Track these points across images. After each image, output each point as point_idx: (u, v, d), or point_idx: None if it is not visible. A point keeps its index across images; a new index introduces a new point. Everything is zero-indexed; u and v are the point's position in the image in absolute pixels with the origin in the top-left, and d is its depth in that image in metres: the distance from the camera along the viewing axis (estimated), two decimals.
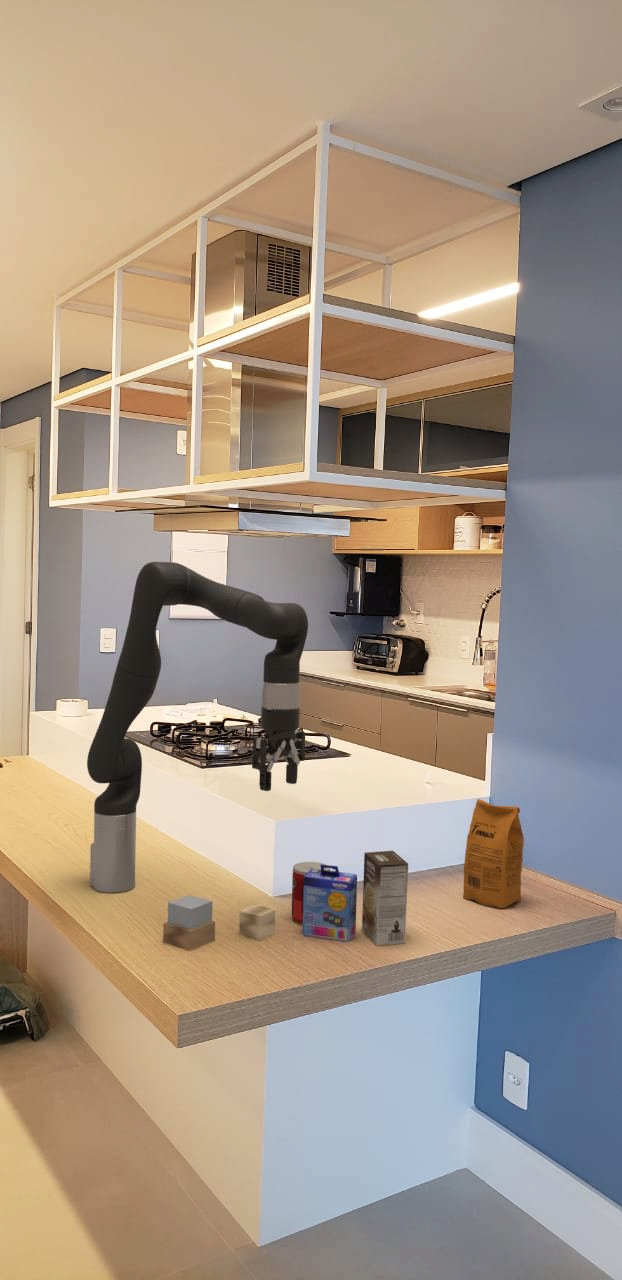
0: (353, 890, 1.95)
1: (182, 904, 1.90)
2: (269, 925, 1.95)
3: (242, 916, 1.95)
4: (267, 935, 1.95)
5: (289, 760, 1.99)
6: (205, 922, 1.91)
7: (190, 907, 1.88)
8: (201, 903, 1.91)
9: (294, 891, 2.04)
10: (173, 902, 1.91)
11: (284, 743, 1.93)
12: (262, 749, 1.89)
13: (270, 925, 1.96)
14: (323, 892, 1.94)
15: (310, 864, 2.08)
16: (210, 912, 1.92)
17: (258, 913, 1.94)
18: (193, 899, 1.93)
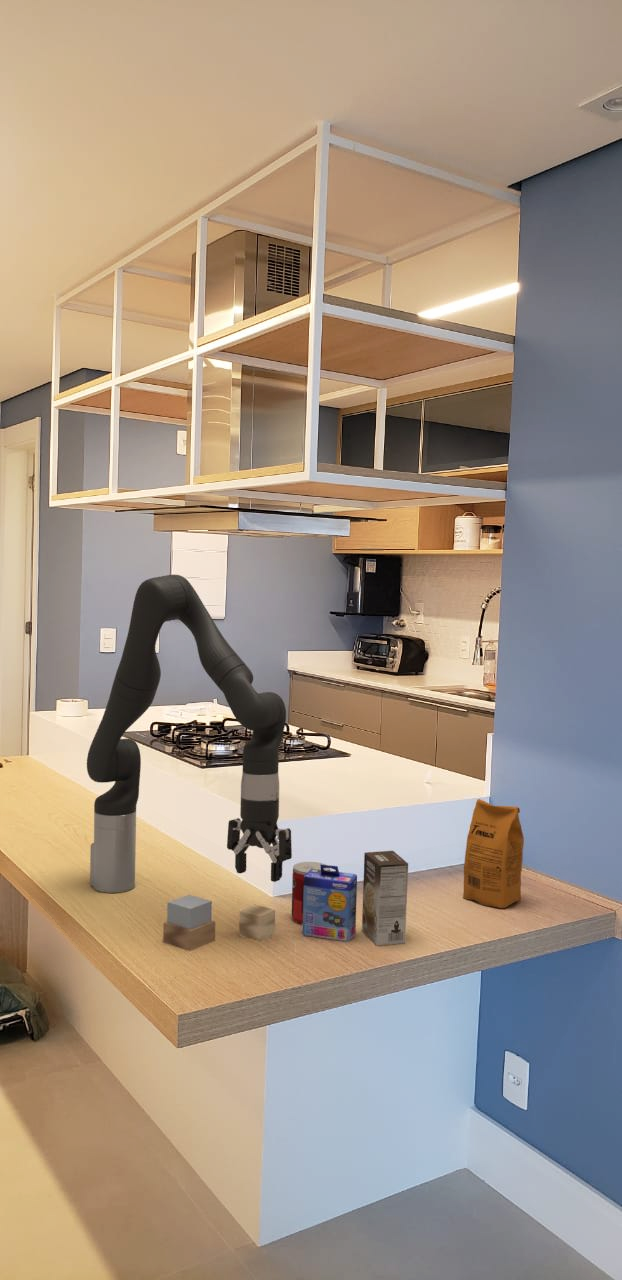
0: (353, 890, 1.95)
1: (182, 904, 1.90)
2: (269, 925, 1.95)
3: (242, 916, 1.95)
4: (267, 935, 1.95)
5: (240, 850, 1.97)
6: (204, 922, 1.91)
7: (188, 907, 1.88)
8: (200, 903, 1.90)
9: (294, 891, 2.04)
10: (172, 902, 1.91)
11: None
12: (290, 839, 1.92)
13: (270, 925, 1.96)
14: (323, 892, 1.94)
15: (310, 864, 2.08)
16: (209, 912, 1.92)
17: (258, 913, 1.94)
18: (193, 899, 1.93)
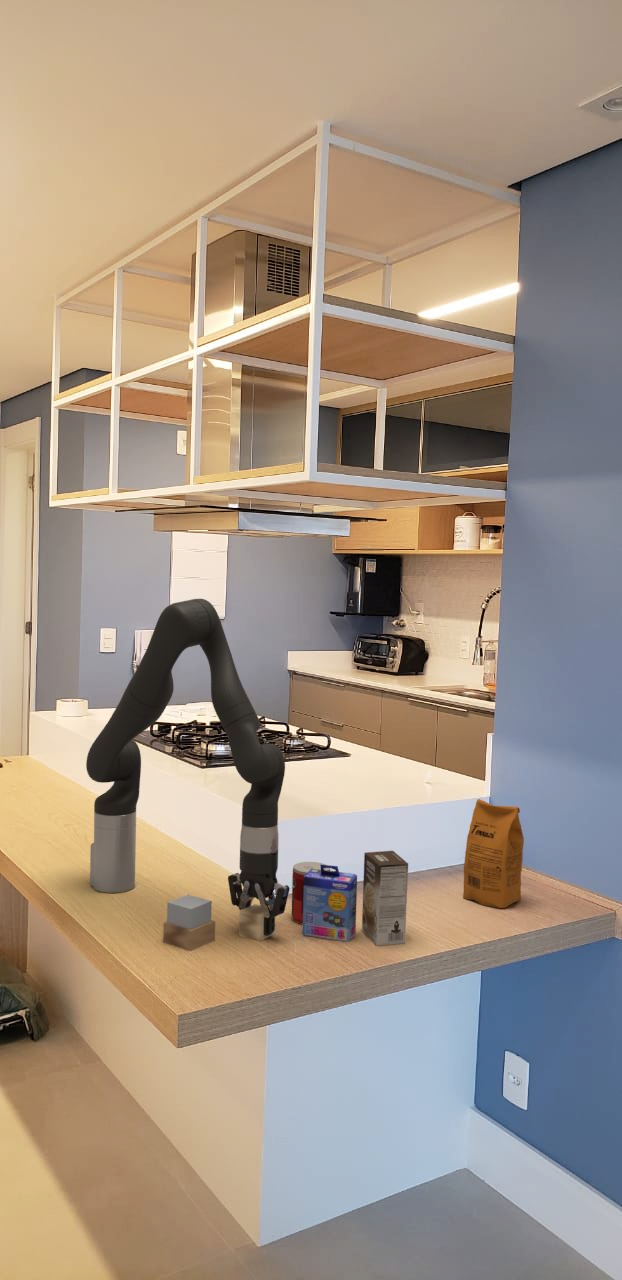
0: (353, 890, 1.95)
1: (182, 904, 1.90)
2: None
3: (241, 916, 1.95)
4: None
5: None
6: (204, 922, 1.91)
7: (189, 907, 1.88)
8: (200, 903, 1.90)
9: (294, 891, 2.04)
10: (172, 902, 1.91)
11: None
12: (287, 896, 1.93)
13: None
14: (323, 892, 1.94)
15: (310, 864, 2.08)
16: (209, 912, 1.92)
17: (258, 912, 1.94)
18: (192, 899, 1.93)
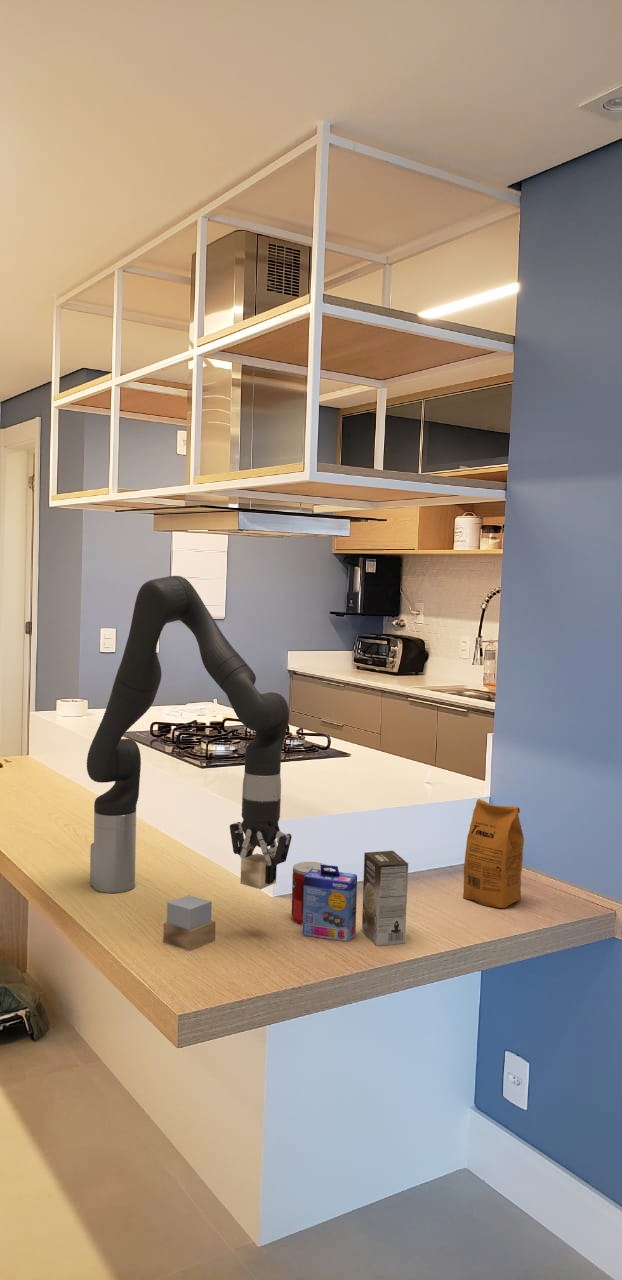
0: (353, 890, 1.95)
1: (181, 904, 1.90)
2: None
3: (243, 864, 1.95)
4: None
5: (246, 854, 1.97)
6: (204, 922, 1.91)
7: (188, 907, 1.88)
8: (200, 904, 1.90)
9: (294, 891, 2.04)
10: (172, 902, 1.91)
11: None
12: (289, 844, 1.93)
13: None
14: (323, 892, 1.94)
15: (310, 864, 2.08)
16: (209, 912, 1.92)
17: (260, 861, 1.94)
18: (192, 899, 1.93)
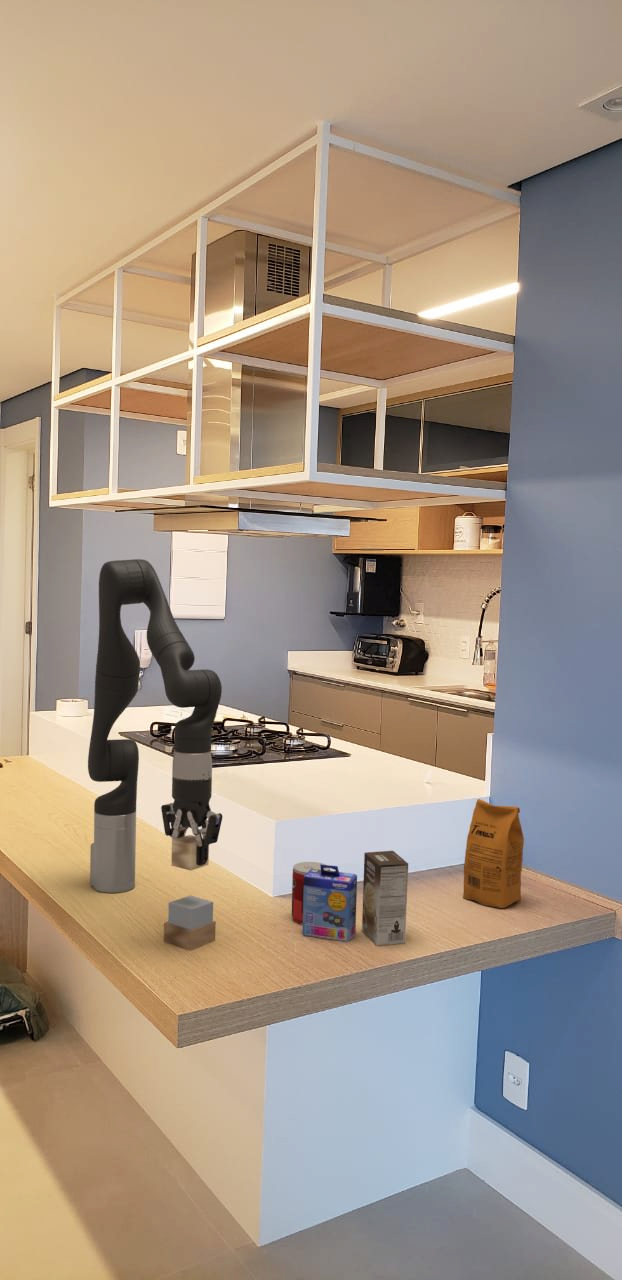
0: (353, 890, 1.95)
1: (183, 904, 1.90)
2: None
3: (174, 845, 1.90)
4: None
5: (178, 835, 1.92)
6: (206, 923, 1.91)
7: (190, 908, 1.88)
8: (201, 904, 1.90)
9: (294, 891, 2.04)
10: (174, 902, 1.91)
11: None
12: (220, 824, 1.88)
13: None
14: (323, 892, 1.94)
15: (310, 864, 2.08)
16: (211, 913, 1.92)
17: (190, 842, 1.89)
18: (194, 899, 1.93)
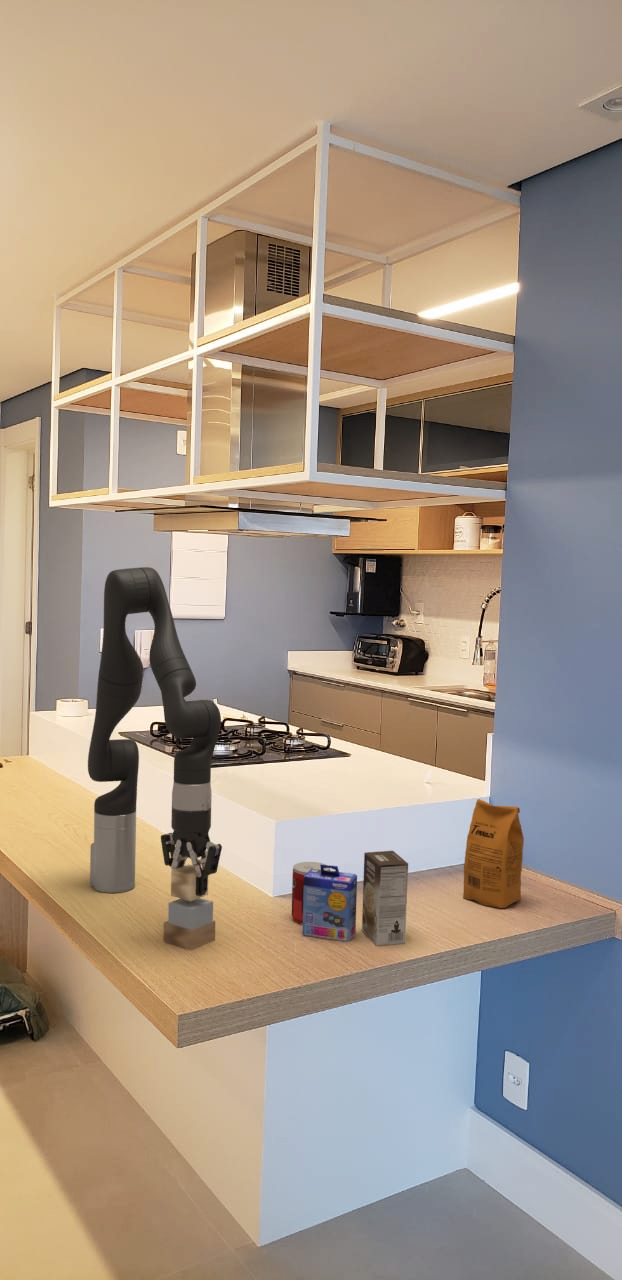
0: (353, 890, 1.95)
1: (183, 905, 1.89)
2: None
3: (173, 876, 1.90)
4: None
5: (177, 865, 1.92)
6: (206, 922, 1.91)
7: (190, 908, 1.88)
8: (202, 904, 1.90)
9: (294, 891, 2.04)
10: (174, 902, 1.90)
11: None
12: (219, 855, 1.88)
13: None
14: (323, 892, 1.94)
15: (310, 864, 2.08)
16: (211, 912, 1.92)
17: (190, 872, 1.89)
18: None
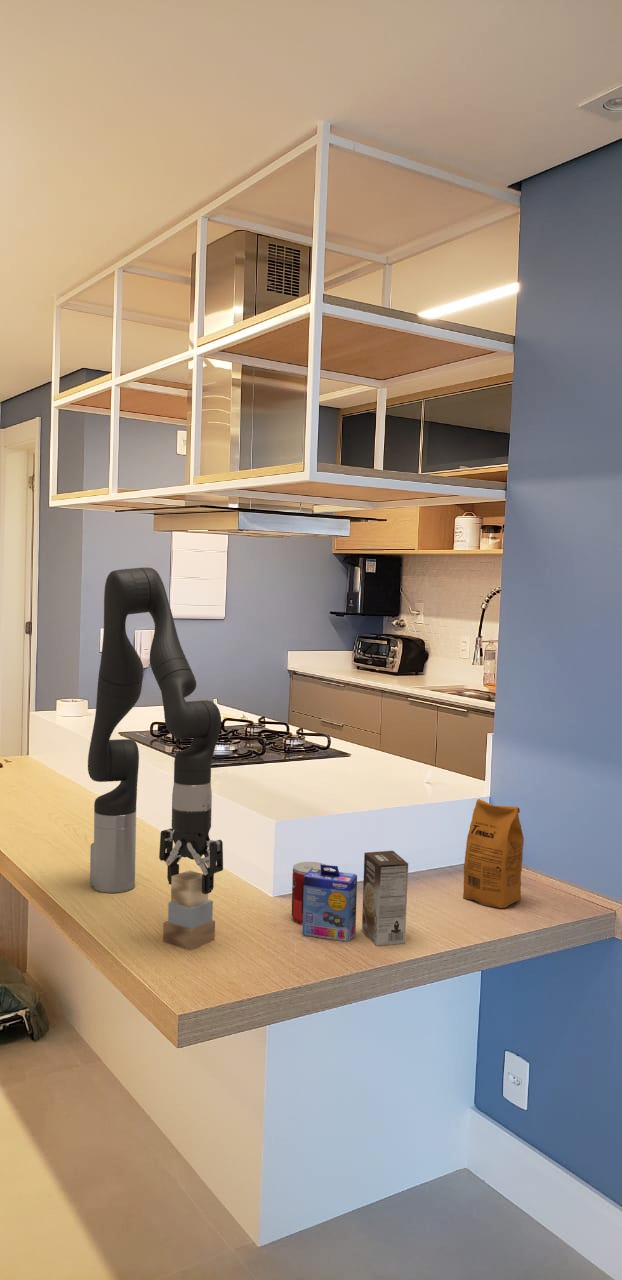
0: (353, 890, 1.95)
1: None
2: None
3: (173, 882, 1.90)
4: (199, 901, 1.90)
5: None
6: (206, 922, 1.91)
7: (191, 907, 1.88)
8: (201, 903, 1.91)
9: (294, 891, 2.04)
10: (173, 902, 1.91)
11: None
12: (222, 850, 1.88)
13: None
14: (323, 892, 1.94)
15: (310, 864, 2.08)
16: (210, 912, 1.92)
17: (190, 878, 1.90)
18: None
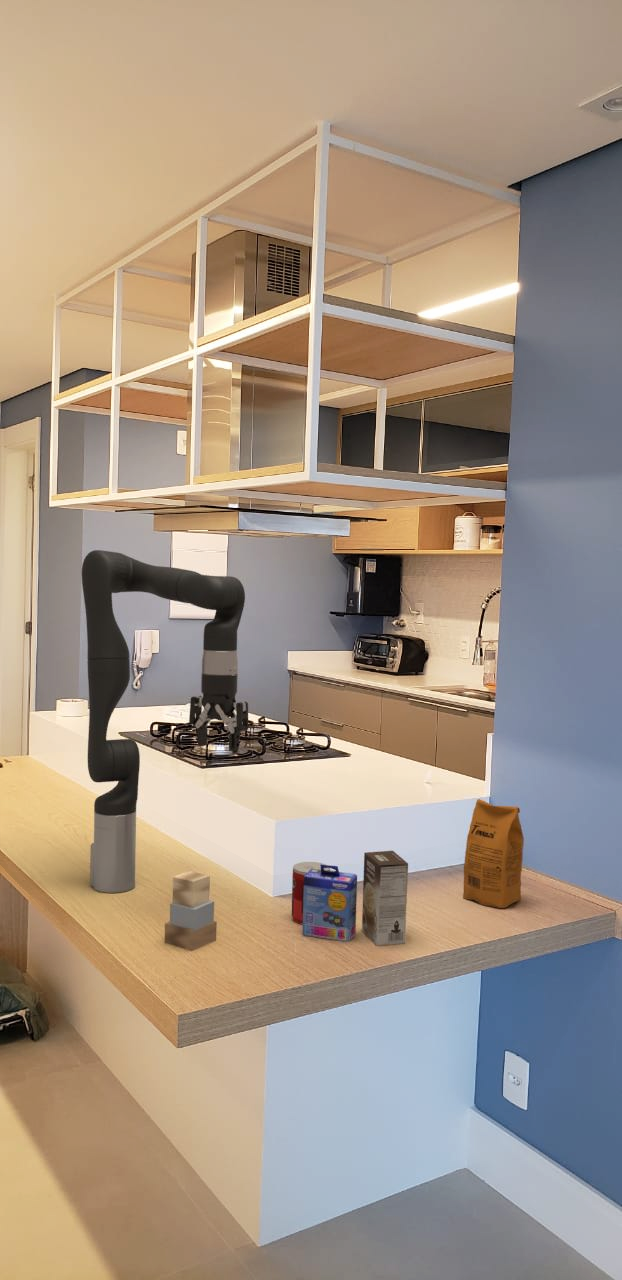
0: (353, 890, 1.95)
1: None
2: (203, 891, 1.91)
3: (175, 882, 1.90)
4: (201, 901, 1.90)
5: (201, 724, 2.11)
6: (207, 922, 1.91)
7: (193, 908, 1.88)
8: (203, 904, 1.90)
9: (294, 891, 2.04)
10: (175, 903, 1.90)
11: None
12: (247, 711, 2.06)
13: (204, 891, 1.91)
14: (323, 892, 1.94)
15: (310, 864, 2.08)
16: (212, 912, 1.92)
17: (192, 878, 1.89)
18: None
